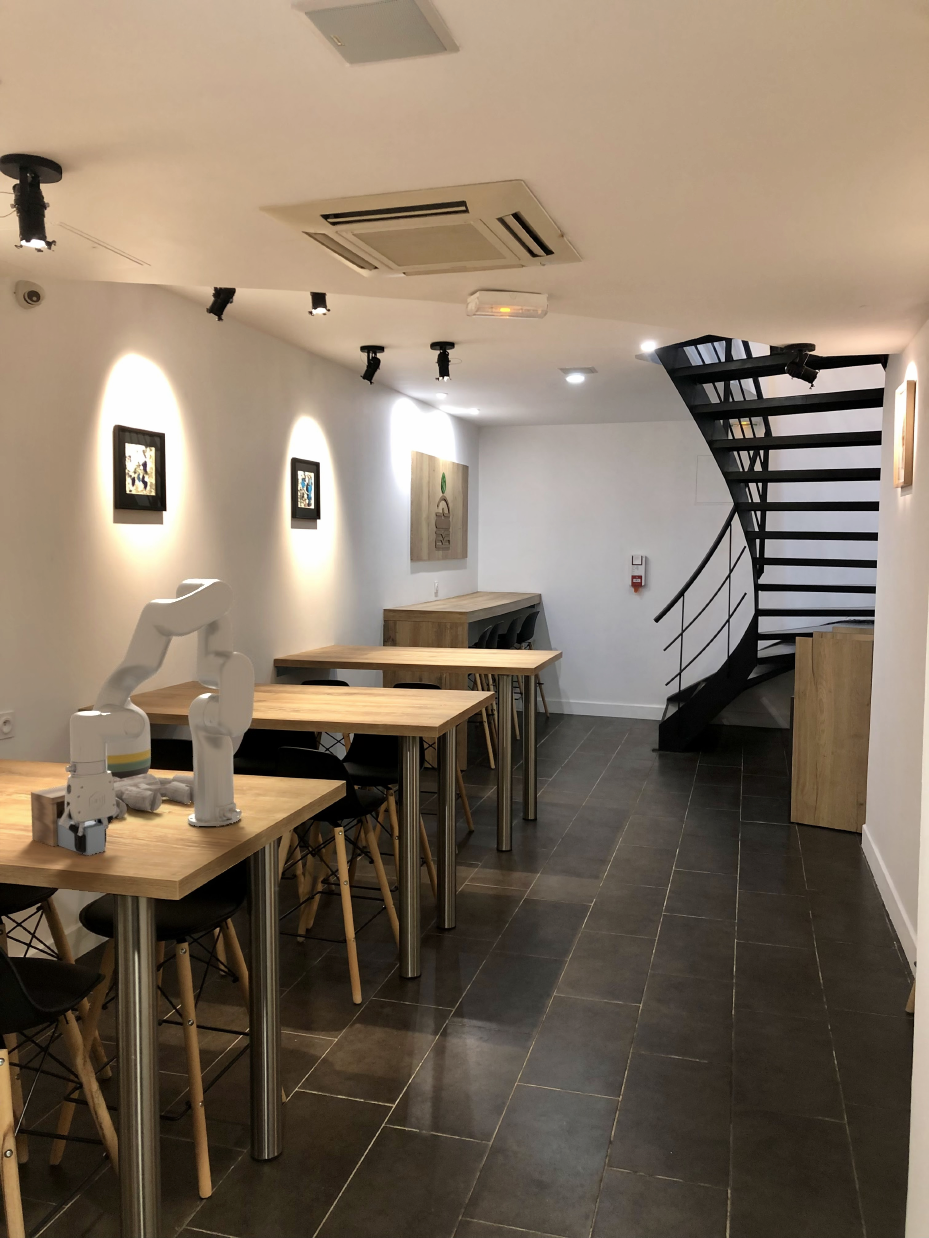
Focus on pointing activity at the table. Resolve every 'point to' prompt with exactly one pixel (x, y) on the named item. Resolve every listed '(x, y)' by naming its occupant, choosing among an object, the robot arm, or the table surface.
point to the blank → (91, 831)
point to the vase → (130, 752)
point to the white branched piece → (151, 791)
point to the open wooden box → (47, 813)
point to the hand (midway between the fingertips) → (90, 848)
